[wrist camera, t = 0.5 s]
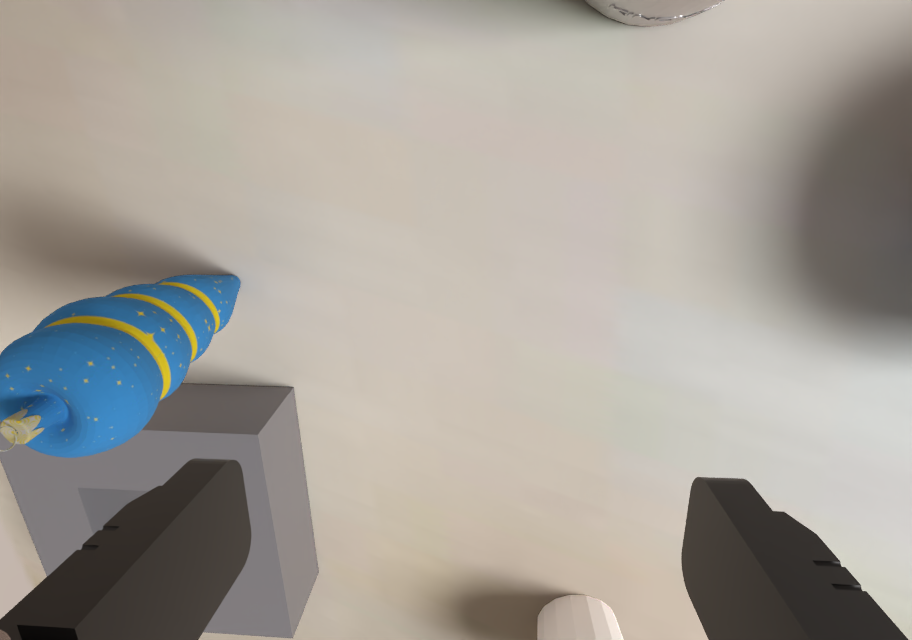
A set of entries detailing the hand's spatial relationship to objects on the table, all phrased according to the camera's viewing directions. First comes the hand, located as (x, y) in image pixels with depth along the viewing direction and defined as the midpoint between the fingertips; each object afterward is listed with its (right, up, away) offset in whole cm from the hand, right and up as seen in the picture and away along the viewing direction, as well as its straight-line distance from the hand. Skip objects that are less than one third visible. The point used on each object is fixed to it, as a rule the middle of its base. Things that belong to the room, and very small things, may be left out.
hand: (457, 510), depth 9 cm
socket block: (-17, -7, +25) cm, 31 cm away
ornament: (-12, +5, +20) cm, 24 cm away
